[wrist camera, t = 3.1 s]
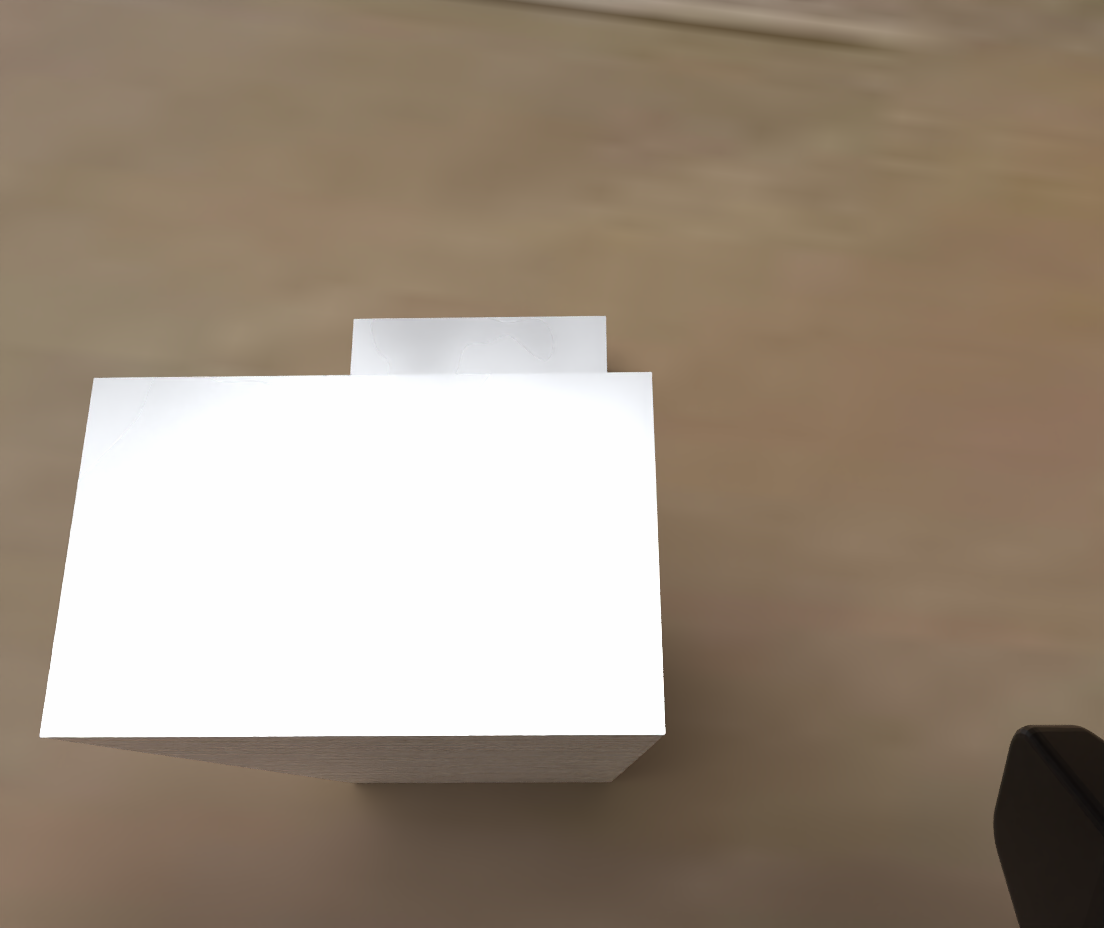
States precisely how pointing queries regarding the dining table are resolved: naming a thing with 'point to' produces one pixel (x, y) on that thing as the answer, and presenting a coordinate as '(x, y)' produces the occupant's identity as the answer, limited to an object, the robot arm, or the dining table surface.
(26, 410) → the dining table surface
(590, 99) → the dining table surface
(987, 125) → the dining table surface
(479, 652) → the white l-shaped block
